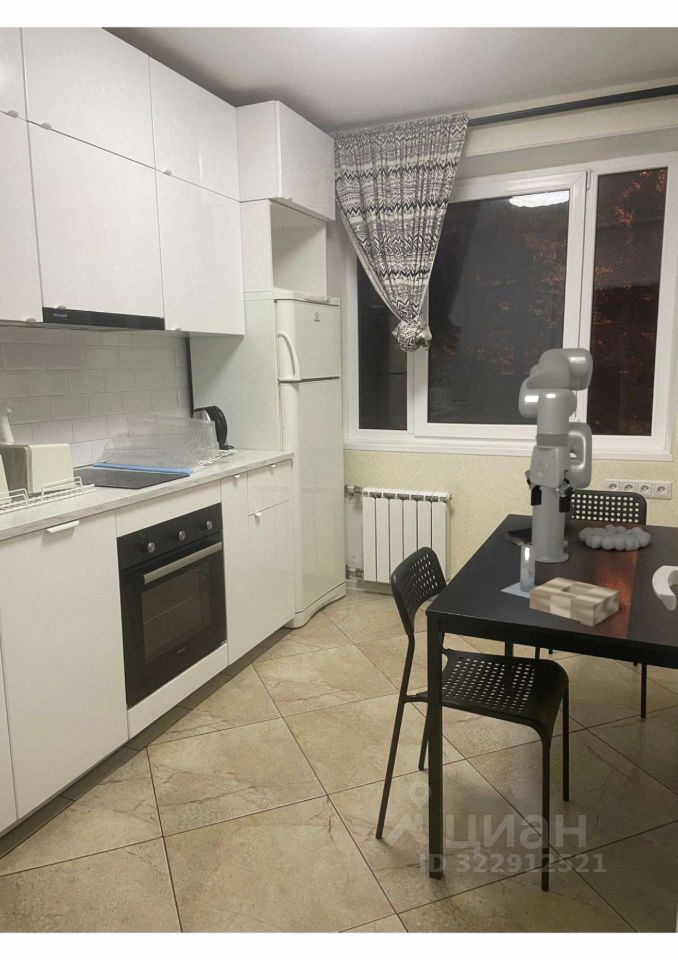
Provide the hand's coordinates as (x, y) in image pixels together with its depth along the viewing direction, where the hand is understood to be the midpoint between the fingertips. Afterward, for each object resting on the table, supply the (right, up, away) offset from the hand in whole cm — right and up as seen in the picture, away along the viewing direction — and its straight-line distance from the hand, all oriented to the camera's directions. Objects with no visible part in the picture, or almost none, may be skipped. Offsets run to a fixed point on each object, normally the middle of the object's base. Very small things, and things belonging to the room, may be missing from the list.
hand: (549, 508), depth 169 cm
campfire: (+38, -15, +53) cm, 67 cm away
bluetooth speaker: (+27, -11, +76) cm, 81 cm away
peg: (-3, -22, +9) cm, 24 cm away
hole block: (+4, -25, -5) cm, 26 cm away
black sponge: (+12, -14, +60) cm, 63 cm away
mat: (-3, -23, +9) cm, 24 cm away
